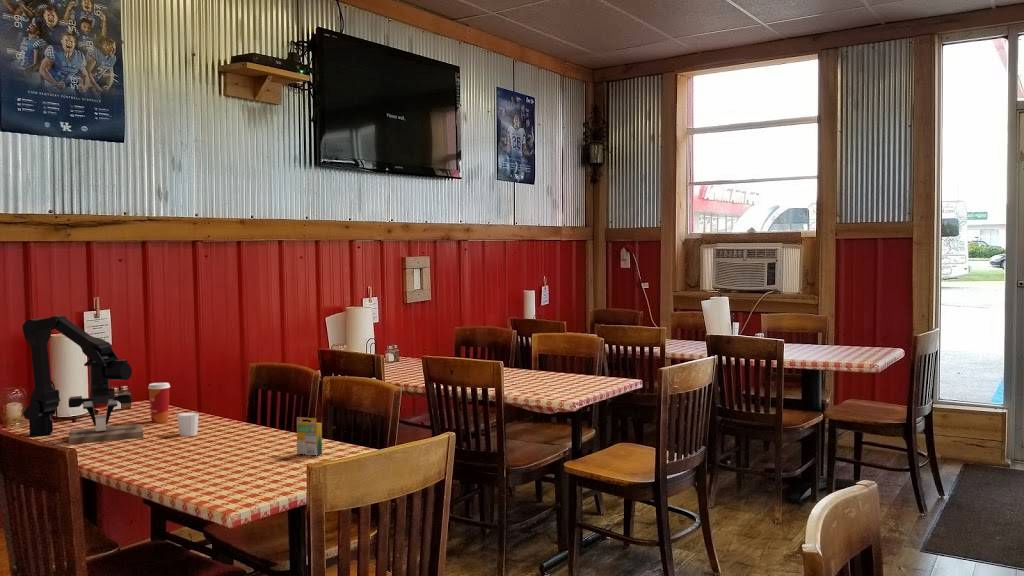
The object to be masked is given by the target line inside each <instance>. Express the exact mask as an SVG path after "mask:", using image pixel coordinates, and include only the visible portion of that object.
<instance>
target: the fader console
mask: <svg viewBox="0 0 1024 576" xmlns="http://www.w3.org/2000/svg"><path fill="white" fill-rule="evenodd" d="M140 438H142V439H143V438H144V429H143V427H142V424H141V423H137V424H135V423H134V424H125V425H116V426H115V425H114V426H106V431H99V432H96V427H92V428H79V429H70V430H69V433H68V445H79V444H87V443H88V444H89V443H97V442H98V443H99V442H106V441H107V442H108V441H119V440H128V439H129V440H130V439H140Z"/></svg>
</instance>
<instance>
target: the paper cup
mask: <svg viewBox="0 0 1024 576" xmlns="http://www.w3.org/2000/svg"><path fill="white" fill-rule="evenodd" d="M170 388H171V385H170V382H151V383H149V384H148V387H147V389H148V396H149V407H150V408H149V409H150V419H151V423H152V424H163V423H167V422H168V421H169V410H170V409H169V408H170Z"/></svg>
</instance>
